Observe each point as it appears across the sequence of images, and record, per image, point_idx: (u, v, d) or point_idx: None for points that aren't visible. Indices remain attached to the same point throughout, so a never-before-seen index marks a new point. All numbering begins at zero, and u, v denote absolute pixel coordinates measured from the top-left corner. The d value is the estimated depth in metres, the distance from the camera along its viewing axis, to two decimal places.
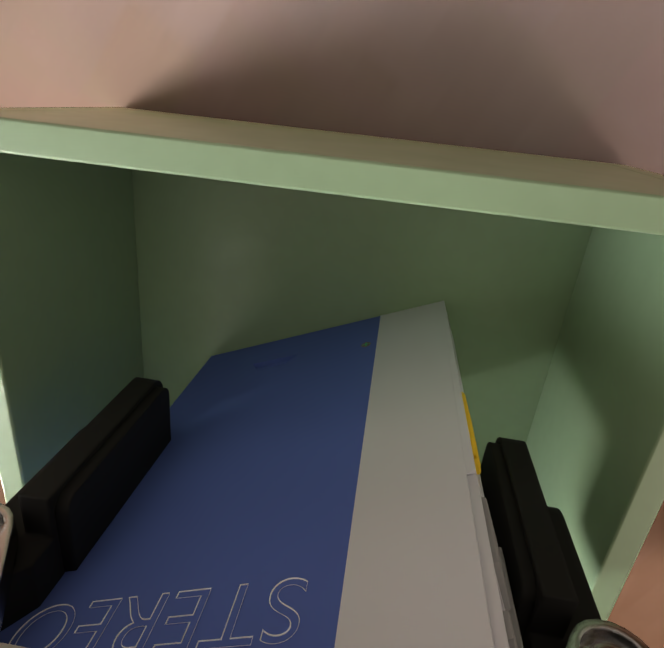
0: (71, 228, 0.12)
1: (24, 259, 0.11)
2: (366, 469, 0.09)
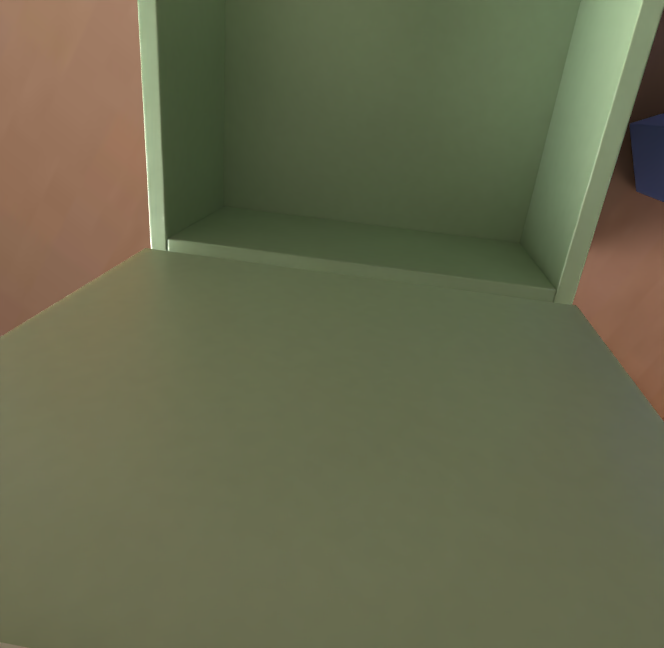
0: None
1: None
2: None
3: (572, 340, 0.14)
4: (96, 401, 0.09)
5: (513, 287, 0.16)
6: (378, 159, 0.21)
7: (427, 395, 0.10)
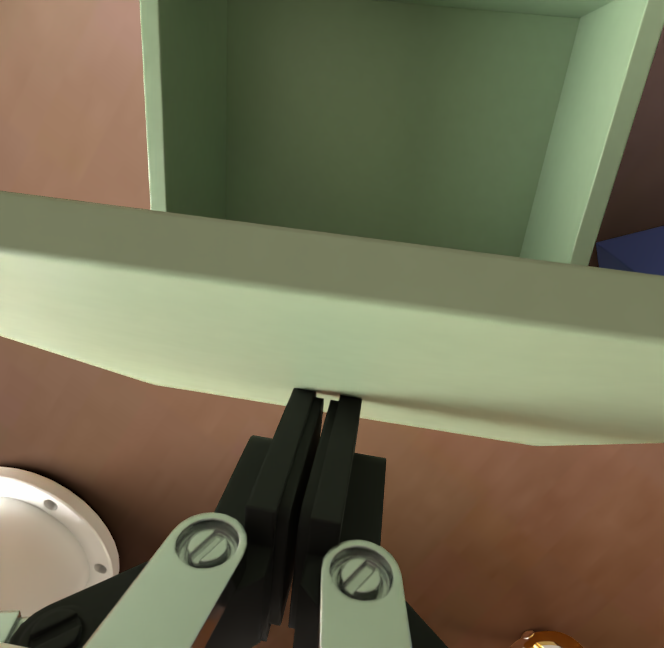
0: (197, 40, 0.17)
1: (176, 45, 0.16)
2: None
3: None
4: None
5: None
6: None
7: None
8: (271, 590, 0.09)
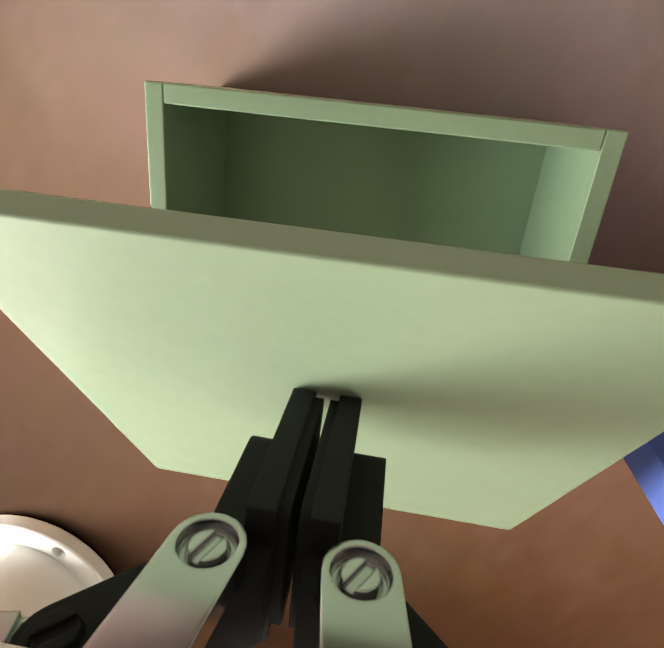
0: (199, 163, 0.19)
1: (180, 177, 0.18)
2: None
3: None
4: None
5: None
6: None
7: None
8: (271, 590, 0.09)
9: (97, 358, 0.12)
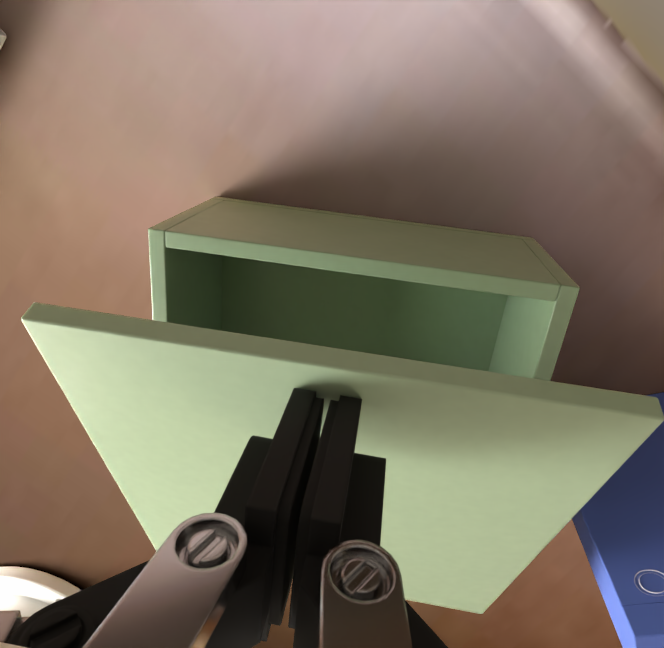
0: (197, 278, 0.21)
1: (180, 300, 0.19)
2: None
3: None
4: None
5: None
6: None
7: None
8: (271, 590, 0.09)
9: (134, 441, 0.15)
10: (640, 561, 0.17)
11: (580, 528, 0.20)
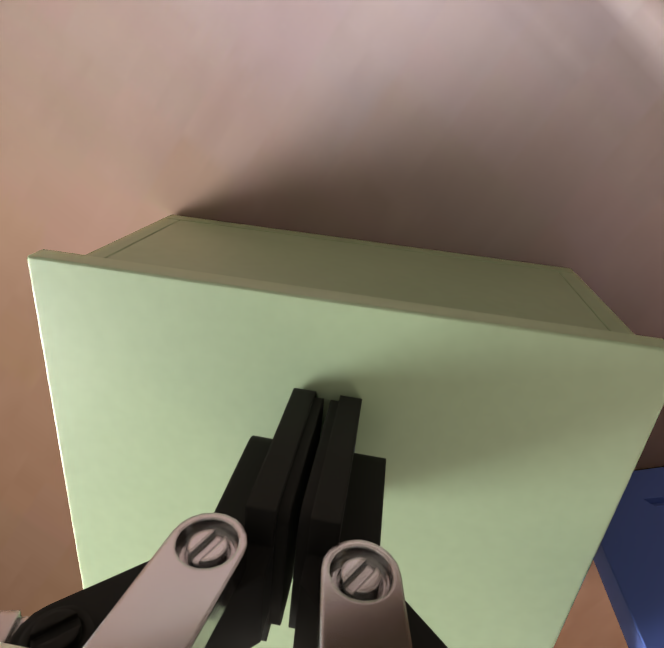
0: None
1: None
2: None
3: None
4: None
5: None
6: None
7: None
8: (271, 590, 0.09)
9: (110, 441, 0.13)
10: None
11: None
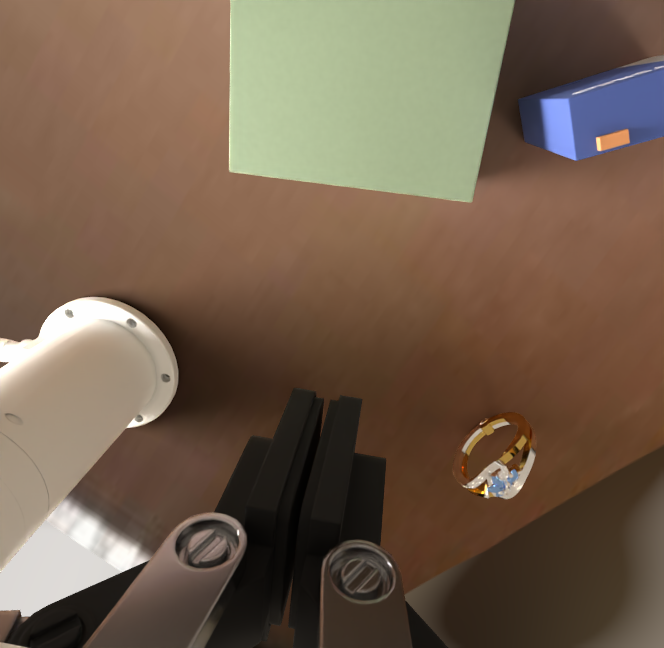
0: None
1: None
2: None
3: None
4: None
5: None
6: None
7: None
8: (271, 590, 0.09)
9: None
10: (578, 91, 0.24)
11: (543, 129, 0.28)
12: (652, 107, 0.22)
